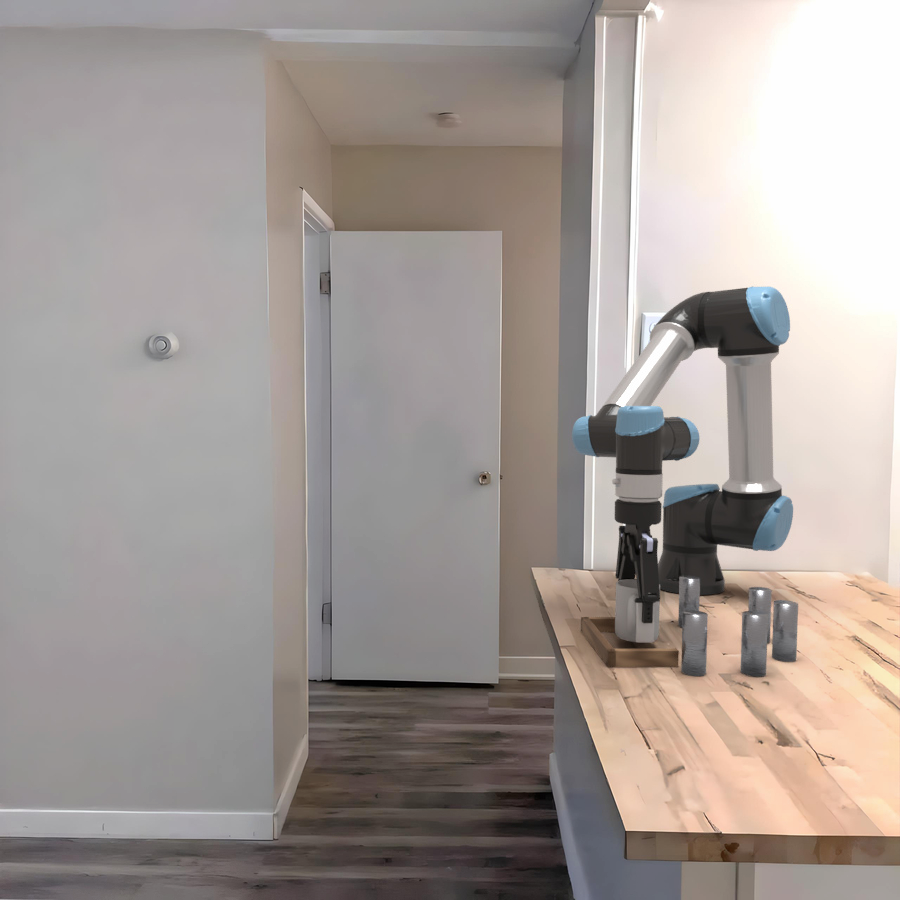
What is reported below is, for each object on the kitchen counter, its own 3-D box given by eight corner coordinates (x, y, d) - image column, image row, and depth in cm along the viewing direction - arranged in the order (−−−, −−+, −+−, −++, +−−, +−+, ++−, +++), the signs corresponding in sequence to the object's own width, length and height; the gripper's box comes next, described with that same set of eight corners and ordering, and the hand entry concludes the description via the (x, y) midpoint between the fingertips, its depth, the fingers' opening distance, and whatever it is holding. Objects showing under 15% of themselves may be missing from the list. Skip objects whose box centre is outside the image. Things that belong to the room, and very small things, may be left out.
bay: (641, 630, 136) (641, 616, 136) (678, 666, 117) (678, 650, 116) (580, 630, 135) (581, 616, 135) (608, 667, 116) (608, 651, 116)
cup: (661, 633, 129) (662, 581, 129) (653, 650, 120) (655, 594, 119) (618, 628, 132) (619, 577, 131) (608, 644, 123) (609, 590, 122)
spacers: (741, 623, 141) (743, 575, 140) (822, 676, 113) (824, 617, 112) (633, 623, 140) (634, 575, 139) (687, 677, 112) (688, 617, 111)
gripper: (599, 491, 136) (597, 614, 137) (635, 507, 113) (632, 653, 115) (640, 491, 136) (638, 613, 137) (684, 507, 114) (680, 653, 115)
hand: (635, 632), depth 126 cm, fingers open, 10 cm apart
